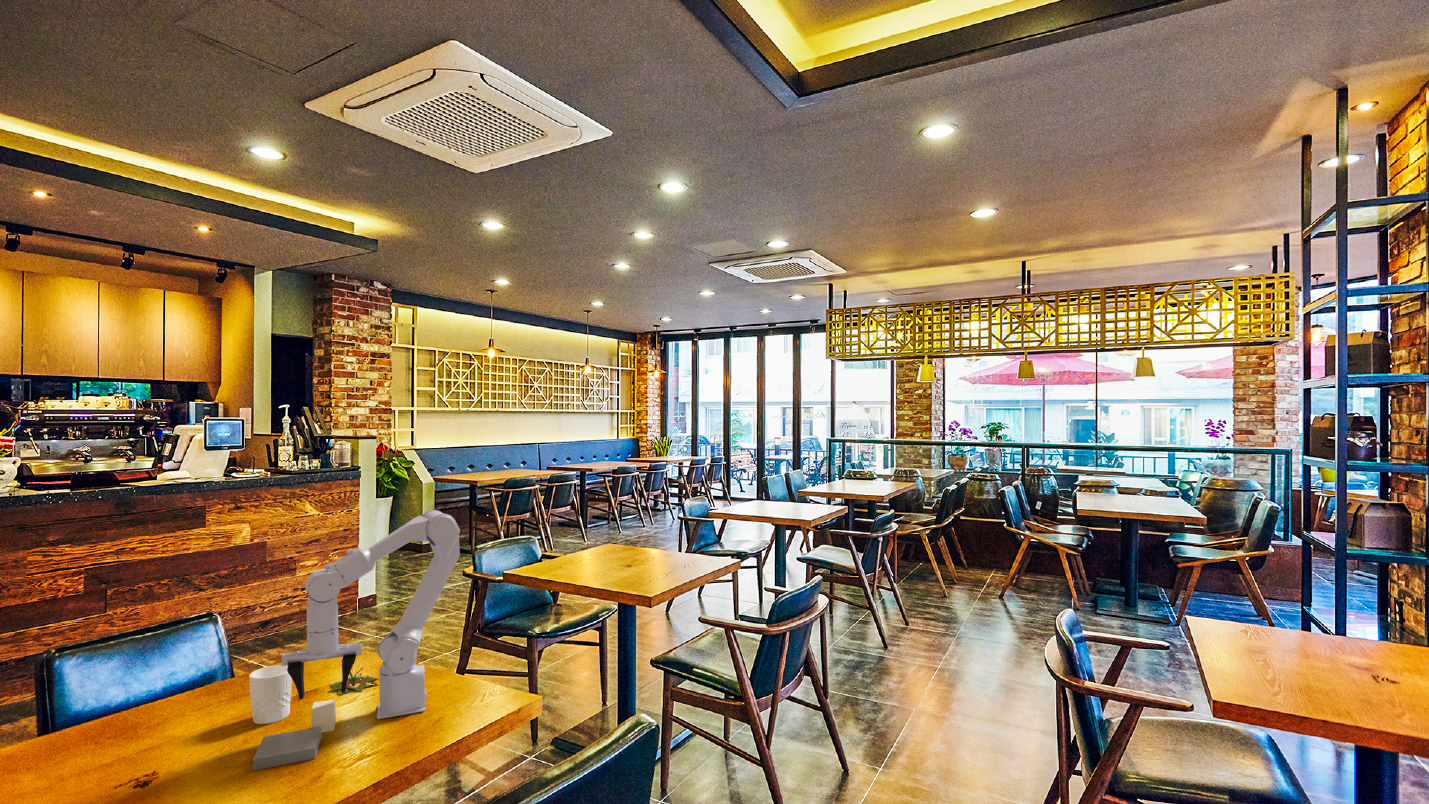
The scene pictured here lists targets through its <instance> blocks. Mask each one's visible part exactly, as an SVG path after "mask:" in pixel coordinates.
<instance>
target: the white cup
mask: <svg viewBox="0 0 1429 804" xmlns="http://www.w3.org/2000/svg"><path fill="white" fill-rule="evenodd" d="M287 668H288V665H287V666H282V664H276V665H269V666H266V667H262V668H258V669H256V670H254V671H252V672H251V673H250V674H249V675H248V677H249V678H248V679H249V681H248V682H249V696H250V697H249V698H250V704H251V705H250V706H251V707H250V708H251V711H252V712H251V713H252V721H253V723H254V724H257V725H267V724H273V723H277V722H279V721H282V720H284V719H286V718H288V716H289V715H290V714H291V701H292V685H293V682H292V681H293V680H292V678H291V676H290V675H289V674H288V671H287Z"/></svg>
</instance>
